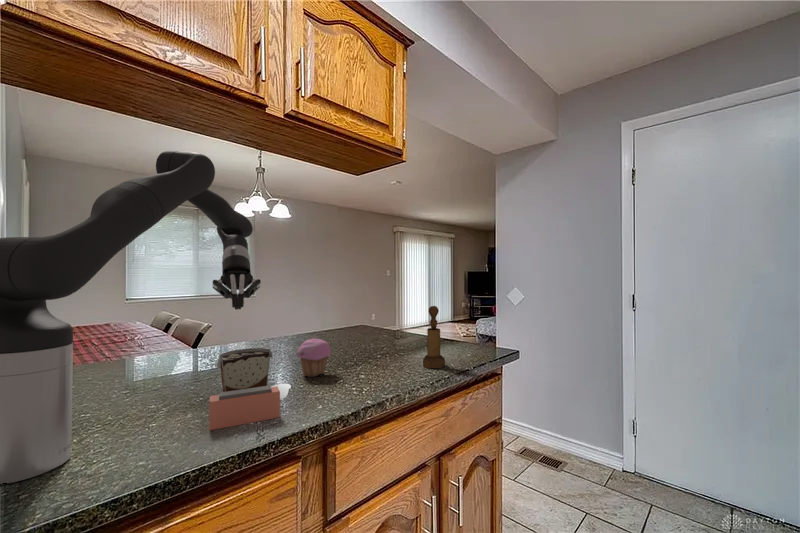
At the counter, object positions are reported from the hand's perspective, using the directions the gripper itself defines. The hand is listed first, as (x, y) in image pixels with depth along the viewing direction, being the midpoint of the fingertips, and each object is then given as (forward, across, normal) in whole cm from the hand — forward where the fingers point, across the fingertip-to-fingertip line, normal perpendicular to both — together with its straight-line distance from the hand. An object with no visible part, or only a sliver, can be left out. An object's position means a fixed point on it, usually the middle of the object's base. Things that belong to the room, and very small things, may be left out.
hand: (238, 307), depth 93 cm
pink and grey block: (+35, 0, -8) cm, 35 cm away
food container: (+24, 0, +4) cm, 24 cm away
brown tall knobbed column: (+24, +53, +4) cm, 58 cm away
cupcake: (+18, +19, +10) cm, 28 cm away
